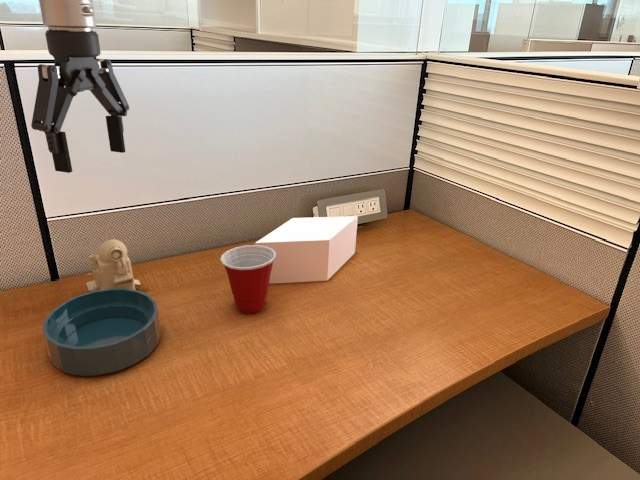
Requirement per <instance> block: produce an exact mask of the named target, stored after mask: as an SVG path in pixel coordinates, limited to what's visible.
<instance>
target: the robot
mask: <svg viewBox="0 0 640 480" xmlns="http://www.w3.org/2000/svg"><path fill="white" fill-rule="evenodd" d="M111 229H115V227H114V226H110V225H108V230H109V233H107V232H104V233H105V237H106V238H102V241H103V243H102V244H100V246H99V248H98V252H97V254H90V255H89V256H88V259H89V261H90V265H92V266H95V267H96V269H91V272H88V273H86V276H89V277H90V276H93V280H90V281H87V282H86V283H85V284H86V287H87V290H88V293H89V292H92V291H97V290H103V289H110V288H126V289H132V290H136V286H138V287H137V289H138V291H141V282H140V280H139V279H135V278H134V273H133V268H132V261H131V259H130V258H129V255H128V248H127V246H126V245H125V244H124V243H123V242H122V241H121V240H119V239H115V238H113V239H108V238H109V237H110V234H111ZM107 234H108V235H107Z"/></svg>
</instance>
